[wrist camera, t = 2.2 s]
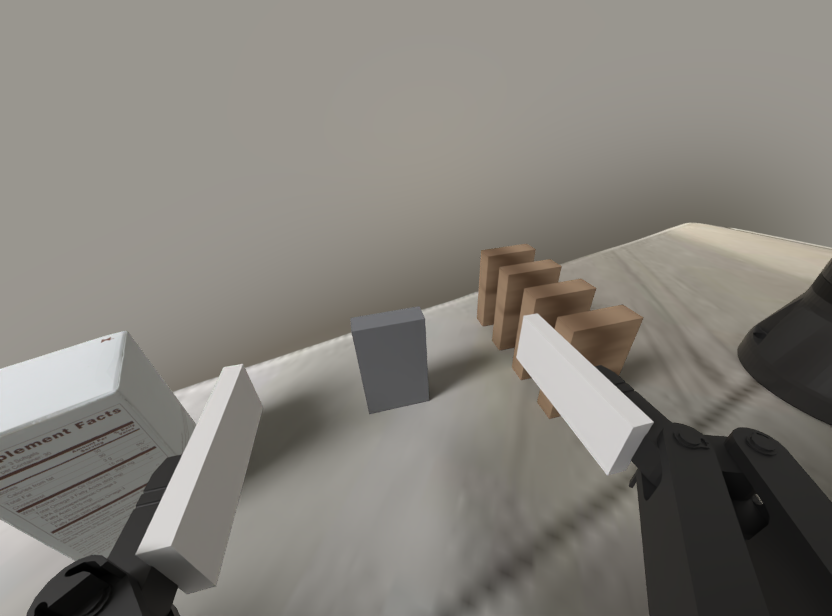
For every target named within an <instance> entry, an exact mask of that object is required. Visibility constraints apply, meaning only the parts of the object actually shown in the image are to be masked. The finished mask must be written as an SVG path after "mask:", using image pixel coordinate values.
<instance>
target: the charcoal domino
mask: <svg viewBox="0 0 832 616" xmlns="http://www.w3.org/2000/svg"><path fill="white" fill-rule="evenodd" d="M351 331H352V336H353V341H354V345H355V350H356V355H357V359H358V364H359V368H360V373H361V377H362V382H363V387H364V391H365V396H366V400H367V405H368V410H369V414H372V413H376V412H381V411H385V410H390V409H394V408H399V407H403V406H408V405H412V404H417V403H421V402H426V401H429V388H428V368H427V348H426V328H425V318H424V315H423V313H422V311H421V309H420V307H413V308H407V309H402V310H395V311H390V312H384V313H378V314H372V315H366V316H360V317H354V318H351Z"/></svg>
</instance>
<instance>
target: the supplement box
mask: <svg viewBox="0 0 832 616" xmlns="http://www.w3.org/2000/svg"><path fill="white" fill-rule="evenodd" d="M195 427H196V424H195V422H194V421H193V419H192V418H191V417H190V415H189V414H188V413H187V411H186V410H185V409H184V407H183V406H182V405H181V403H180V402H179V400H178V399H177V398H176V396H175V395H174V394H173V392H172V391H171V390H170V388H169V387H168V385H167V384H166V383H165V381H164V380H163V379H162V377H161V376H160V374H159V373H158V372H157V370H156V369H155V368H154V366H153V365H152V364H151V362H150V361H149V359H148V358H147V357H146V355H145V354H144V353H143V351H142V350H141V349H140V347H139V346H138V344H137V343H136V342H135V341H134V339H133V338H132V336H131V335H130V334H129V332H128V331H122V332H118V333H114V334H111V335H107V336H104V337H100V338H97V339H94V340H91V341H87V342H84V343H81V344H78V345H75V346H72V347H68V348H65V349H62V350H59V351H56V352H53V353H50V354H47V355H43V356H40V357H37V358H34V359H31V360H27V361H24V362H21V363H18V364H15V365H11V366H8V367H5V368H1V369H0V520H2V521H4V522H6V523H8V524H9V525H11V526H13V527H15V528H16V529H18V530H20V531H22V532H24V533H25V534H27V535H29V536H31V537H33V538H35V539H36V540H38V541H40V542H42V543H43V544H45V545H47V546H49V547H51V548H52V549H54V550H56V551H58V552H60V553H61V554H63V555H65V556H67V557H68V558H70V559H72V560H74V561H77V560H78V559H81V558H84V557H87V556H90V555H102V556H104V557H105V558H108V556H109V554H110V553H111V551H112V549H113V547H114V545H115V543H116V541H117V539H118V537H119V536H120V534H121V532H122V530H123V528H124V526H125V524H126V522H127V521H128V519H129V517H130V515H131V513H132V511H133V509H135V508H136V506H135V505H136V504H137V502H138V500H139V498H140V496H141V494H143V490H144V489H145V487H146V485H147V483H148V481H149V479H150V477H151V475H152V474H153V472H154V471H155V470H156V469H157V468H158V467H159V466H160V465H161V464H162V463H163V461H164V460H165V459H166V458H167V457H171V456H176V455H181V454H183V452H184V450H185V448H186V446H187V444H188V442H189V440H190V438H191V435H192V433H193V431H194V429H195Z"/></svg>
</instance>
